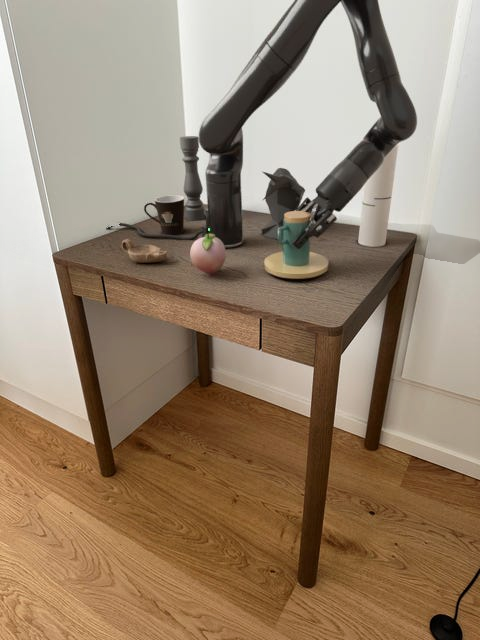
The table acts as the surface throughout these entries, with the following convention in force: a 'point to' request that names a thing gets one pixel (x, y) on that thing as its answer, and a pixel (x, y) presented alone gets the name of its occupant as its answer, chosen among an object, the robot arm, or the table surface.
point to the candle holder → (192, 178)
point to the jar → (295, 251)
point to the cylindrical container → (377, 203)
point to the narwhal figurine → (281, 199)
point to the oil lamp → (143, 252)
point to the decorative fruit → (208, 253)
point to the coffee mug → (169, 213)
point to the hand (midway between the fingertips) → (290, 241)
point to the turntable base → (295, 279)
